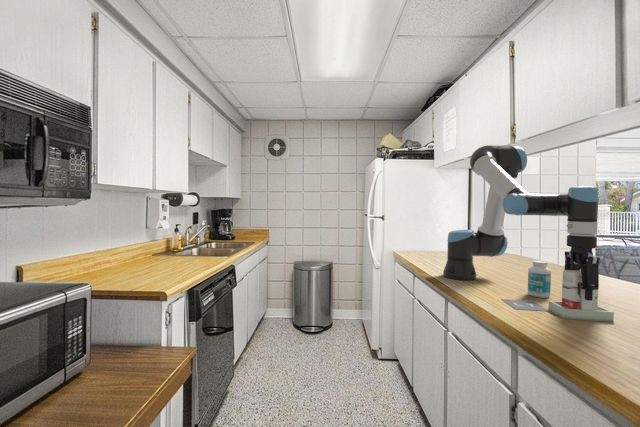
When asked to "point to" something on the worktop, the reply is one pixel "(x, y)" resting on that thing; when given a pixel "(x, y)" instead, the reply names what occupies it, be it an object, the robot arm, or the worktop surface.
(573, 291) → the ink box
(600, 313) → the tray
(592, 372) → the worktop surface
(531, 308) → the label
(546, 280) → the pill bottle
